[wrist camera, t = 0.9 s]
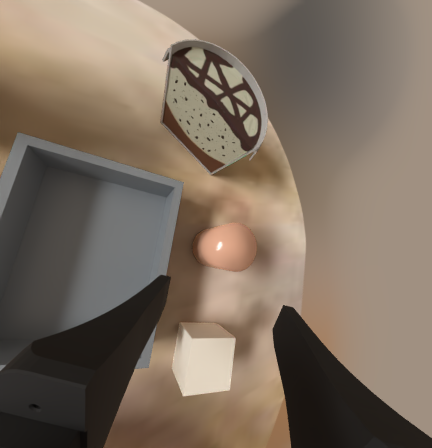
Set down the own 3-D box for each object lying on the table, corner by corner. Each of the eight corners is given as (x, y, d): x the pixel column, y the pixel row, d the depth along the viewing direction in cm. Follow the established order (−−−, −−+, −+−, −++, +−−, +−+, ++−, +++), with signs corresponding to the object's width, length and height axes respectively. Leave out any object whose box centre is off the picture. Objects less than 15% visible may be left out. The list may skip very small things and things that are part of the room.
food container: (241, 157, 31) (290, 118, 22) (218, 183, 28) (261, 152, 19) (182, 90, 28) (210, 13, 19) (151, 113, 26) (166, 38, 17)
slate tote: (143, 343, 22) (148, 367, 18) (-24, 347, 17) (-78, 383, 12) (173, 194, 25) (183, 182, 21) (41, 158, 20) (17, 131, 16)
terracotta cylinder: (224, 268, 27) (254, 274, 21) (189, 263, 25) (211, 268, 19) (228, 232, 28) (259, 228, 22) (195, 225, 26) (218, 217, 20)
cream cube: (210, 365, 25) (229, 390, 21) (171, 367, 23) (183, 396, 19) (216, 322, 26) (235, 337, 22) (179, 321, 24) (192, 338, 20)
